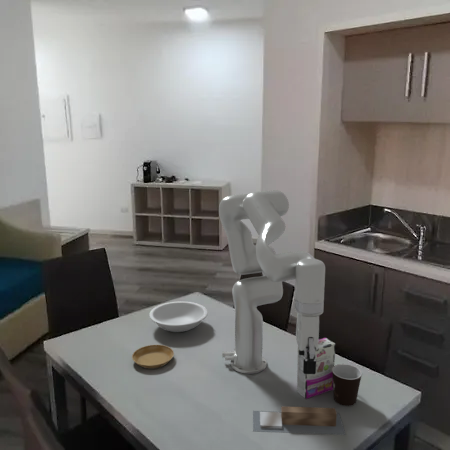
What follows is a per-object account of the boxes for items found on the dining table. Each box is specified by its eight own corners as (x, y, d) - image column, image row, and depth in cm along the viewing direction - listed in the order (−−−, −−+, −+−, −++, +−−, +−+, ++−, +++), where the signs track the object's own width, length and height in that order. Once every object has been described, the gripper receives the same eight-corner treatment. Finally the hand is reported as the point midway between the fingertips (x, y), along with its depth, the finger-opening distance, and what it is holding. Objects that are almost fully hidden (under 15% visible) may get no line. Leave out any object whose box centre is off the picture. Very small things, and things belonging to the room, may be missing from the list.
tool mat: (253, 432, 123) (253, 431, 123) (253, 412, 132) (253, 410, 132) (345, 436, 122) (345, 434, 122) (339, 415, 131) (339, 413, 131)
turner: (260, 427, 125) (260, 415, 124) (259, 414, 131) (260, 401, 130) (337, 430, 124) (337, 417, 123) (333, 416, 129) (333, 404, 128)
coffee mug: (354, 413, 132) (357, 382, 129) (326, 403, 136) (328, 374, 134) (365, 393, 141) (367, 364, 139) (338, 385, 146) (340, 357, 143)
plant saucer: (132, 374, 153) (132, 367, 152) (132, 353, 167) (131, 346, 166) (176, 369, 155) (175, 362, 155) (172, 349, 170) (171, 342, 169)
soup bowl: (159, 313, 200) (158, 299, 199) (212, 316, 197) (212, 302, 195) (142, 338, 177) (141, 323, 176) (202, 342, 174) (201, 327, 172)
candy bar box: (323, 382, 147) (325, 336, 143) (333, 390, 143) (336, 343, 139) (295, 392, 142) (297, 344, 138) (305, 400, 138) (307, 351, 134)
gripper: (291, 293, 128) (290, 348, 132) (298, 318, 111) (296, 381, 115) (318, 293, 128) (315, 348, 131) (329, 319, 111) (326, 381, 115)
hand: (306, 363), depth 123 cm, fingers open, 9 cm apart
